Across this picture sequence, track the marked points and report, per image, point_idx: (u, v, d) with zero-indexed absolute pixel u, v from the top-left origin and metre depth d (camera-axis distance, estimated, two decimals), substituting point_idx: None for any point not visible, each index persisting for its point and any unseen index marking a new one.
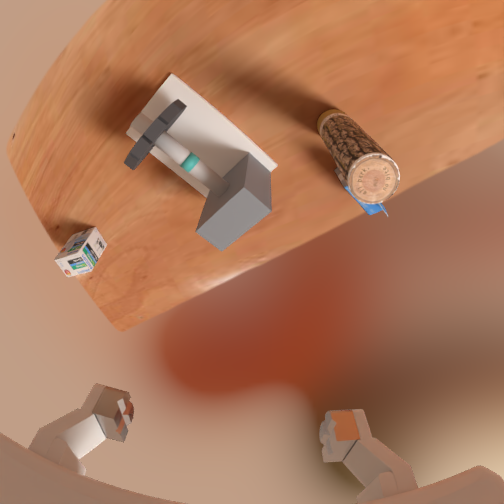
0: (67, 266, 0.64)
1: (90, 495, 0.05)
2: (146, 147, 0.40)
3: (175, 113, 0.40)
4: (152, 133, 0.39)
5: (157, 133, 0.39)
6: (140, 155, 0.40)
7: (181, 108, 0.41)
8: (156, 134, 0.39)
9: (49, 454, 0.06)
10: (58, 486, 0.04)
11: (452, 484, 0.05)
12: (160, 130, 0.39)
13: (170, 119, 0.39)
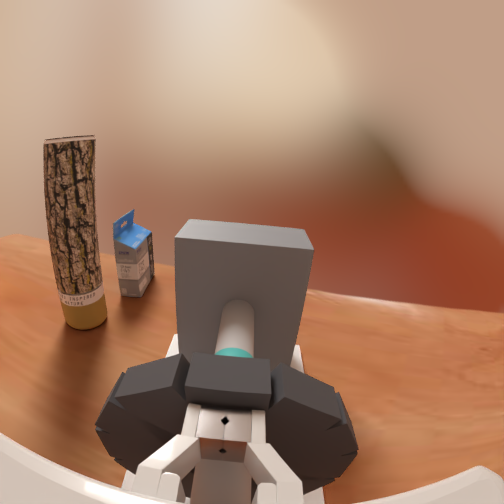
0: None
1: (90, 495, 0.05)
2: (211, 357, 0.11)
3: None
4: (159, 371, 0.11)
5: (154, 364, 0.12)
6: (253, 362, 0.11)
7: None
8: (158, 364, 0.12)
9: (160, 492, 0.06)
10: (58, 486, 0.04)
11: (452, 484, 0.05)
12: (144, 366, 0.12)
13: (117, 381, 0.12)
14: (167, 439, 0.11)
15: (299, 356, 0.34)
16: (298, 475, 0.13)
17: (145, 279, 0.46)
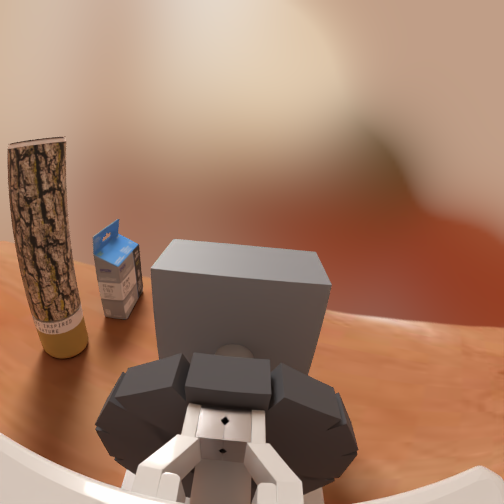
0: None
1: (90, 495, 0.05)
2: (211, 357, 0.11)
3: (109, 395, 0.13)
4: (159, 371, 0.11)
5: (155, 364, 0.12)
6: (253, 362, 0.11)
7: None
8: (158, 364, 0.12)
9: (161, 492, 0.06)
10: (58, 486, 0.04)
11: (452, 484, 0.05)
12: (144, 366, 0.12)
13: (117, 381, 0.12)
14: (166, 439, 0.11)
15: None
16: (298, 475, 0.13)
17: (131, 298, 0.40)
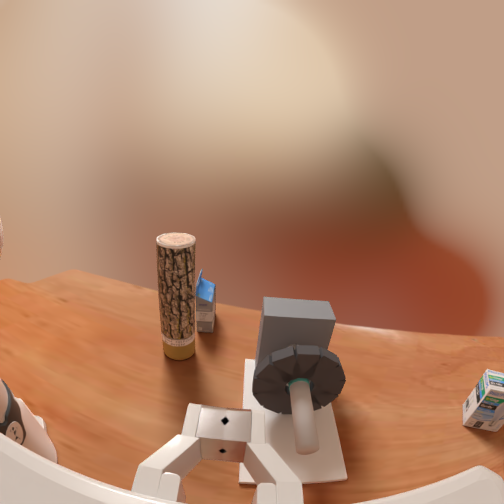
0: None
1: (90, 495, 0.05)
2: (301, 346, 0.39)
3: (259, 364, 0.41)
4: (286, 351, 0.39)
5: (283, 350, 0.40)
6: (313, 346, 0.39)
7: (254, 372, 0.41)
8: (284, 349, 0.40)
9: (161, 492, 0.06)
10: (58, 486, 0.04)
11: (452, 484, 0.05)
12: (279, 351, 0.40)
13: (265, 358, 0.40)
14: (284, 375, 0.39)
15: None
16: (324, 391, 0.41)
17: None
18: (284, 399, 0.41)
